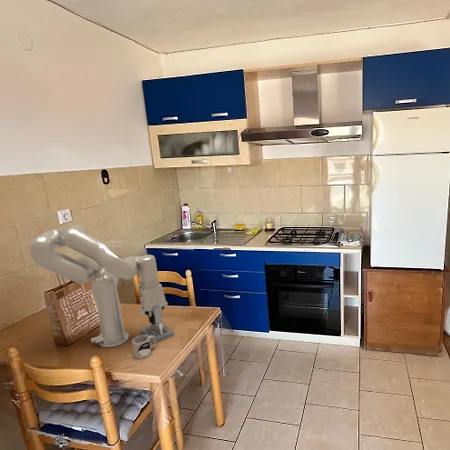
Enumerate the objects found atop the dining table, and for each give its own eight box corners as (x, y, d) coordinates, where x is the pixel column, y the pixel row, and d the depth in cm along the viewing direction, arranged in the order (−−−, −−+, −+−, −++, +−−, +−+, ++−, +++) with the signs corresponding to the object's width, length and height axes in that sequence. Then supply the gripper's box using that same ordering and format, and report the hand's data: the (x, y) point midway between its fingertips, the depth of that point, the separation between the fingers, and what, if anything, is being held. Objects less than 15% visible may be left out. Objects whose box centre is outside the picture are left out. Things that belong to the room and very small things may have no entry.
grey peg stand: (174, 335, 161) (172, 321, 160) (152, 343, 156) (150, 329, 154) (161, 324, 172) (159, 312, 171) (141, 332, 167) (139, 318, 166)
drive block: (163, 327, 161) (160, 306, 159) (157, 329, 159) (153, 308, 157) (156, 321, 167) (153, 301, 165) (150, 323, 166) (146, 303, 164)
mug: (140, 360, 143) (138, 345, 142) (131, 355, 148) (129, 340, 147) (161, 349, 150) (159, 334, 149) (151, 344, 155) (149, 330, 154)
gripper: (135, 290, 152) (141, 331, 156) (170, 280, 161) (176, 318, 164) (129, 286, 158) (135, 325, 162) (163, 276, 167) (169, 313, 170)
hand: (156, 321), depth 163 cm, fingers closed on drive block, 3 cm apart
